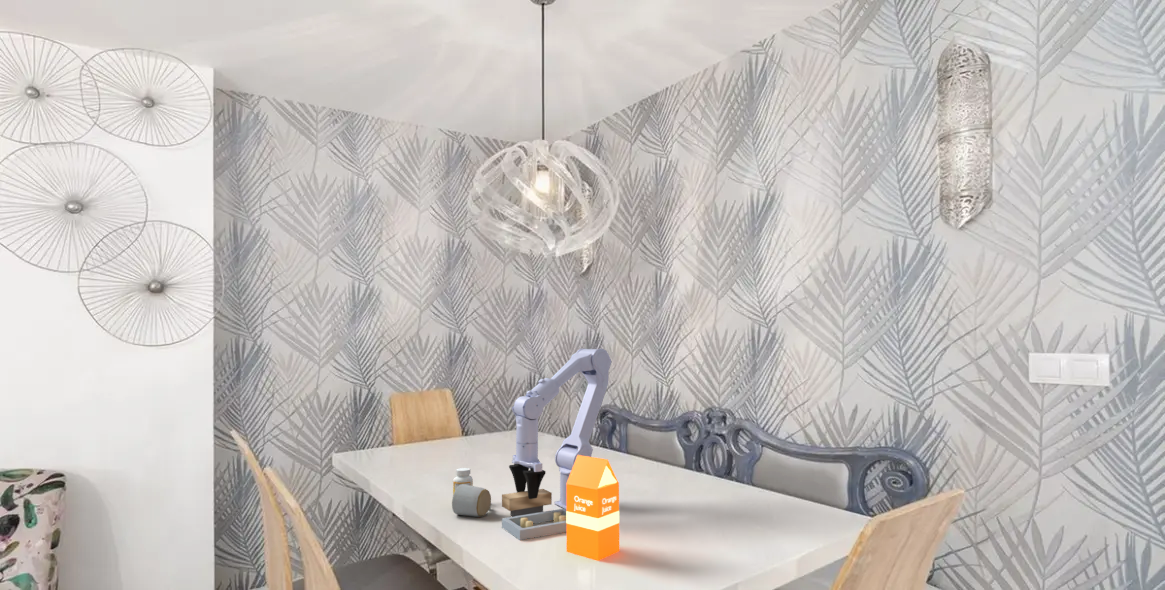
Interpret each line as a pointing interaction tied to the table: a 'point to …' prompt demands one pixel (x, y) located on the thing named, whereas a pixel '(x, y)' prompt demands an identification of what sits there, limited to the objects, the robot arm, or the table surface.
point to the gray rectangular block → (526, 511)
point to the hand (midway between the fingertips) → (526, 495)
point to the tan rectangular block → (525, 500)
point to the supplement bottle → (462, 478)
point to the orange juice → (592, 509)
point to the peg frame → (527, 522)
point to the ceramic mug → (471, 501)
